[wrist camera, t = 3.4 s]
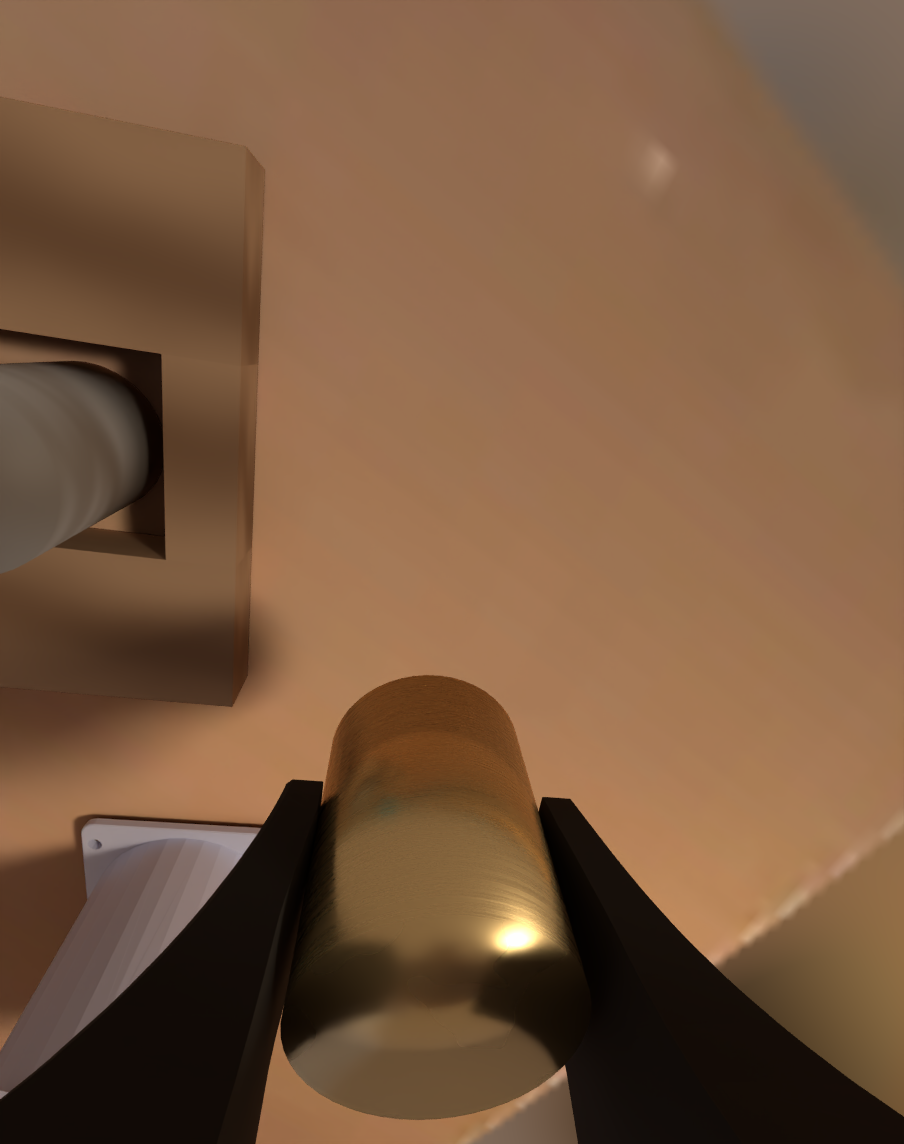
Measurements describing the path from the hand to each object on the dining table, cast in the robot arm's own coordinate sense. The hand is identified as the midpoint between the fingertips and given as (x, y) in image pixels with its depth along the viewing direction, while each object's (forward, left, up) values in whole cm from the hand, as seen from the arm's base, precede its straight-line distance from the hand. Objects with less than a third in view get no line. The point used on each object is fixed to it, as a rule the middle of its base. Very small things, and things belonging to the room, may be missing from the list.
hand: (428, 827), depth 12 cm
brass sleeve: (0, 0, -2) cm, 2 cm away
